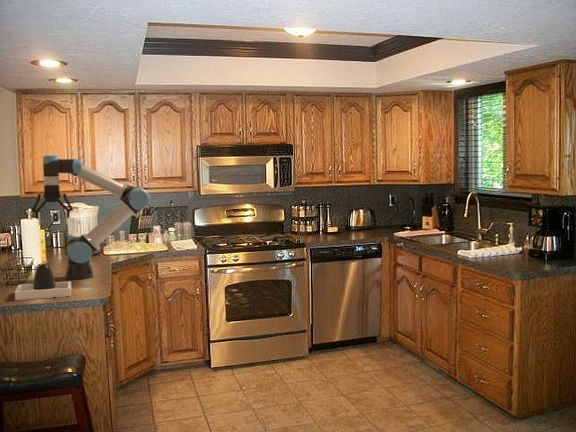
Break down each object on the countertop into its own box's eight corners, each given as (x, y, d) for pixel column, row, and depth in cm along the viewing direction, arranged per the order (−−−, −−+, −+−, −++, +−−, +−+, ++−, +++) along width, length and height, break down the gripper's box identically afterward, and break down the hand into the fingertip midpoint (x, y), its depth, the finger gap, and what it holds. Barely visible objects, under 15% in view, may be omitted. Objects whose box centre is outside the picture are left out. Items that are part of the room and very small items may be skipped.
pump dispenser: (50, 291, 298) (49, 261, 297) (59, 294, 291) (57, 263, 289) (30, 294, 291) (28, 263, 290) (37, 297, 284) (36, 266, 282)
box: (71, 289, 304) (71, 281, 303) (70, 296, 286) (70, 288, 286) (19, 292, 296) (18, 284, 295) (15, 300, 278) (14, 292, 278)
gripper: (76, 184, 322) (78, 223, 324) (26, 184, 314) (28, 224, 315) (76, 184, 315) (78, 224, 316) (25, 185, 307) (27, 226, 308)
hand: (53, 224), depth 316 cm, fingers open, 13 cm apart
